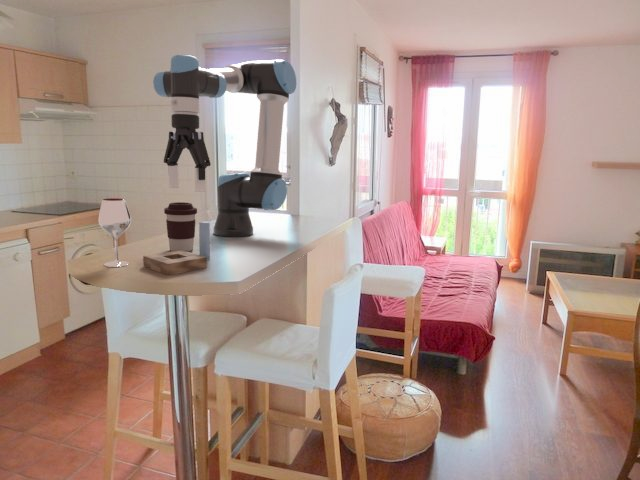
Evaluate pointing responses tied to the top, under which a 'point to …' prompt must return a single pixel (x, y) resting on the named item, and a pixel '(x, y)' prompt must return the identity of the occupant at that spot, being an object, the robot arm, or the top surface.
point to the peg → (204, 239)
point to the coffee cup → (180, 225)
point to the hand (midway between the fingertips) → (186, 190)
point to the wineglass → (114, 223)
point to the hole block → (175, 262)
